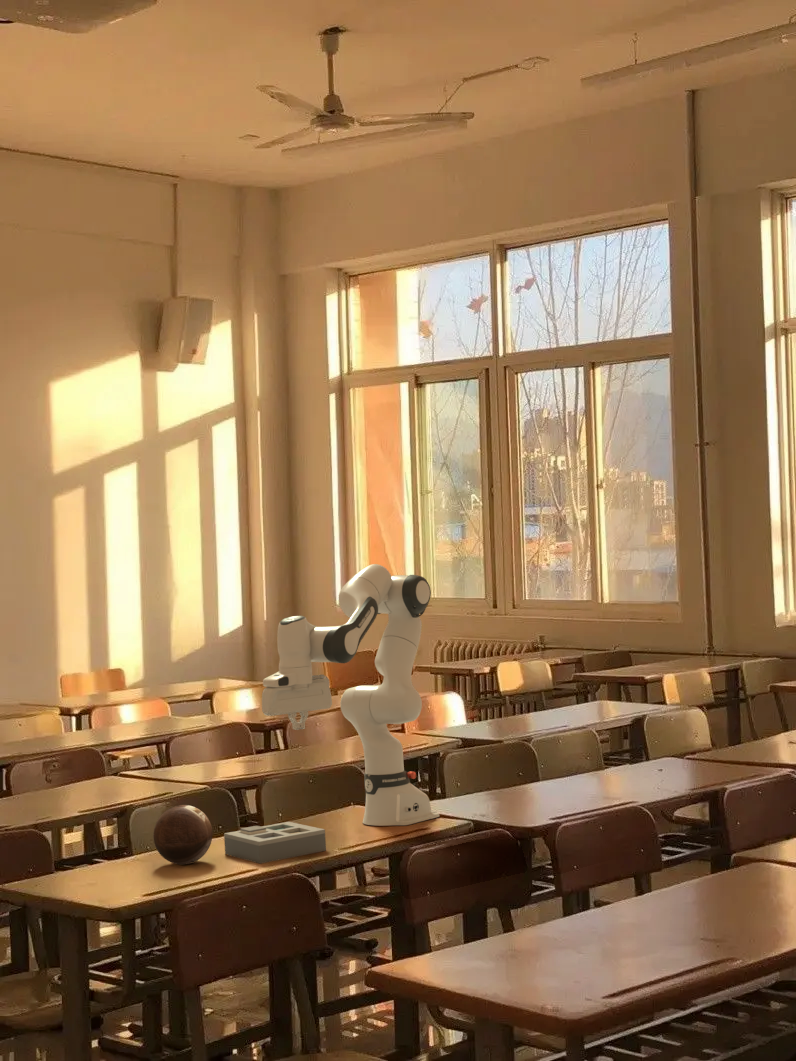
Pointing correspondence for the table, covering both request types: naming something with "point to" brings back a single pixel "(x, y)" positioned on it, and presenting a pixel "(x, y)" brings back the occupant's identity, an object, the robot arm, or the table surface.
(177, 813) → the wooden sphere
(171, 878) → the table surface
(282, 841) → the keypad
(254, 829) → the key
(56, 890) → the table surface
